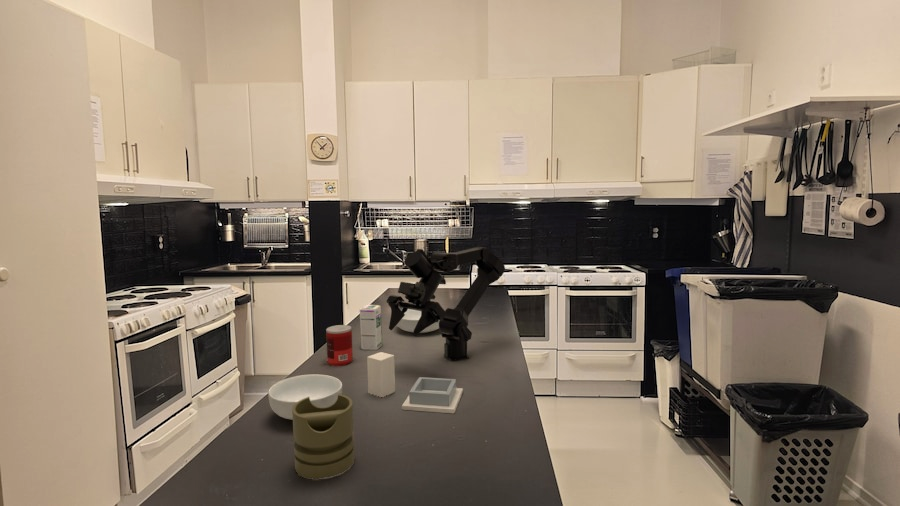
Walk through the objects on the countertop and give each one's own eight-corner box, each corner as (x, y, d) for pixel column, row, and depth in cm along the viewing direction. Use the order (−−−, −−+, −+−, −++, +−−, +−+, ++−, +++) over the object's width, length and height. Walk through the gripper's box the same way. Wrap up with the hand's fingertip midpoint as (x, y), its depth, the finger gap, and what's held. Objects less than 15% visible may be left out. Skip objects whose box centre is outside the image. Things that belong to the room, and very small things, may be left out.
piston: (295, 396, 99) (352, 391, 101) (298, 452, 100) (354, 446, 103) (289, 421, 88) (353, 414, 90) (292, 484, 89) (355, 476, 92)
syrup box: (377, 350, 166) (375, 308, 164) (360, 349, 167) (359, 308, 165) (382, 345, 171) (381, 304, 169) (366, 344, 172) (365, 304, 171)
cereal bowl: (275, 438, 106) (273, 406, 106) (265, 408, 121) (263, 381, 120) (351, 420, 114) (350, 391, 113) (333, 395, 129) (332, 369, 128)
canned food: (357, 359, 157) (356, 325, 156) (344, 367, 150) (342, 332, 148) (336, 356, 160) (335, 324, 158) (322, 364, 152) (321, 330, 151)
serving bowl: (457, 327, 193) (457, 310, 192) (427, 341, 176) (426, 322, 175) (415, 320, 204) (414, 304, 204) (382, 333, 187) (382, 315, 186)
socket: (415, 388, 132) (415, 374, 132) (462, 392, 130) (462, 377, 129) (402, 409, 120) (401, 393, 119) (454, 413, 117) (454, 397, 117)
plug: (381, 387, 134) (380, 351, 133) (395, 391, 131) (394, 355, 130) (368, 393, 130) (367, 356, 129) (381, 397, 127) (380, 360, 126)
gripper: (390, 268, 146) (363, 311, 138) (438, 273, 135) (412, 321, 127) (408, 290, 153) (383, 332, 146) (456, 297, 142) (432, 343, 134)
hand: (401, 331), depth 138 cm, fingers open, 9 cm apart
